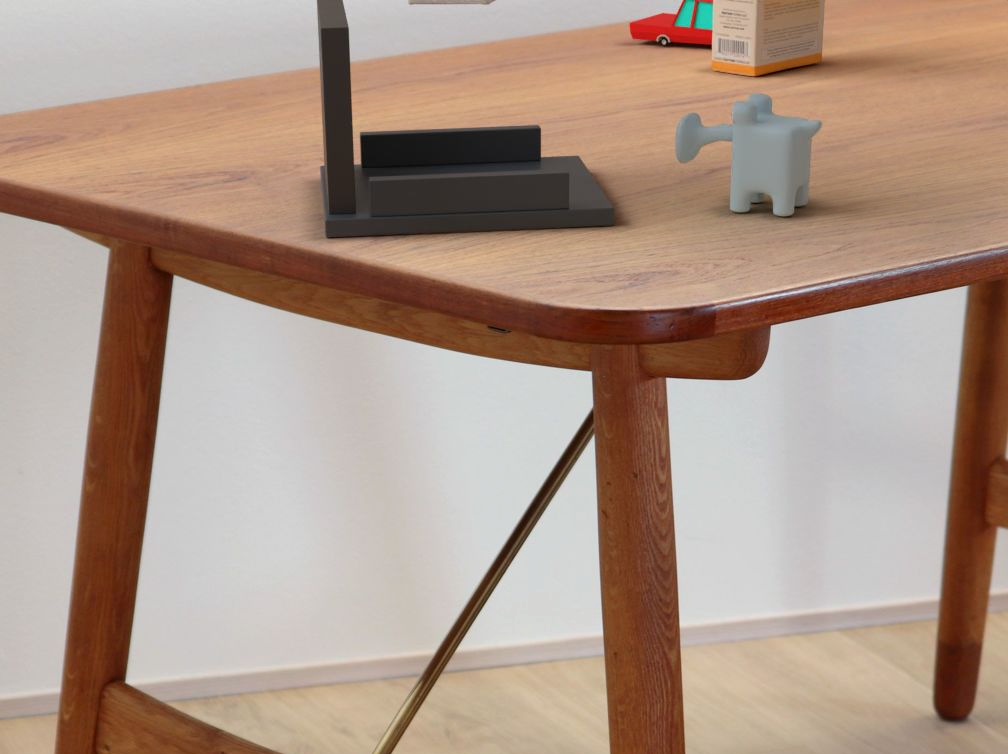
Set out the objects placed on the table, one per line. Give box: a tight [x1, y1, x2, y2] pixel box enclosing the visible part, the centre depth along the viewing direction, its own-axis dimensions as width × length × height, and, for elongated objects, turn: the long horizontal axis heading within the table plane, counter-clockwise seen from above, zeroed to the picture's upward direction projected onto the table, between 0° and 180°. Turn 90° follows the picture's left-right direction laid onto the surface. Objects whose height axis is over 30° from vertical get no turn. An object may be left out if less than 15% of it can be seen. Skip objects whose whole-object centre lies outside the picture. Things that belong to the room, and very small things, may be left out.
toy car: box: [628, 0, 713, 47], centre depth 162 cm, size 6×12×4 cm, turn 56°
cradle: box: [316, 0, 616, 238], centre depth 110 cm, size 14×16×11 cm
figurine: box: [674, 92, 823, 217], centre depth 109 cm, size 4×8×6 cm, turn 62°
